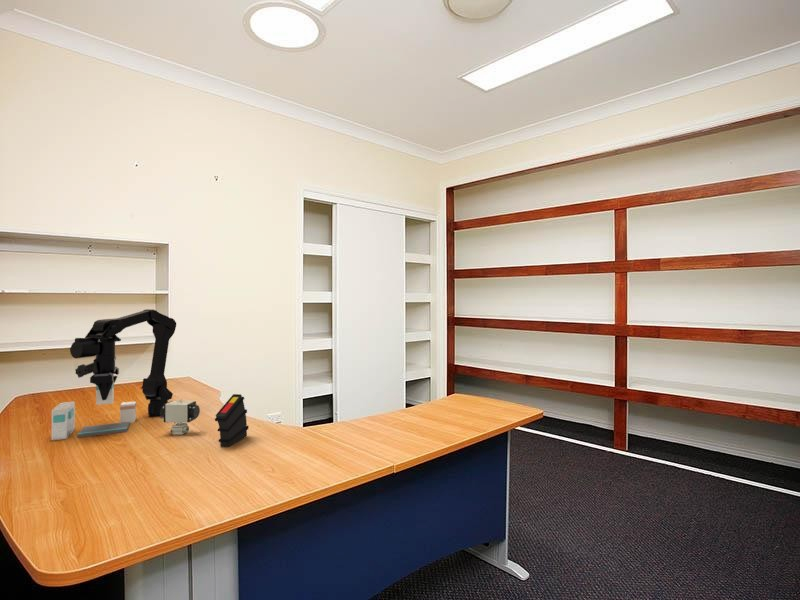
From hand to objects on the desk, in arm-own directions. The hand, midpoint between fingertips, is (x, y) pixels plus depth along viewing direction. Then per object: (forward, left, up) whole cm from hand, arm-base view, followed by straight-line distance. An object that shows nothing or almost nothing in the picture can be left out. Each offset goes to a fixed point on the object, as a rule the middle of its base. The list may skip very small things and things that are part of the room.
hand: (105, 398), depth 150 cm
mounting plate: (0, 0, -11) cm, 11 cm away
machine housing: (+12, -1, -11) cm, 17 cm away
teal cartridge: (0, 0, -2) cm, 2 cm away
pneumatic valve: (-24, +16, -12) cm, 31 cm away
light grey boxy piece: (-6, -10, -12) cm, 16 cm away
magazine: (-39, +34, -12) cm, 53 cm away
